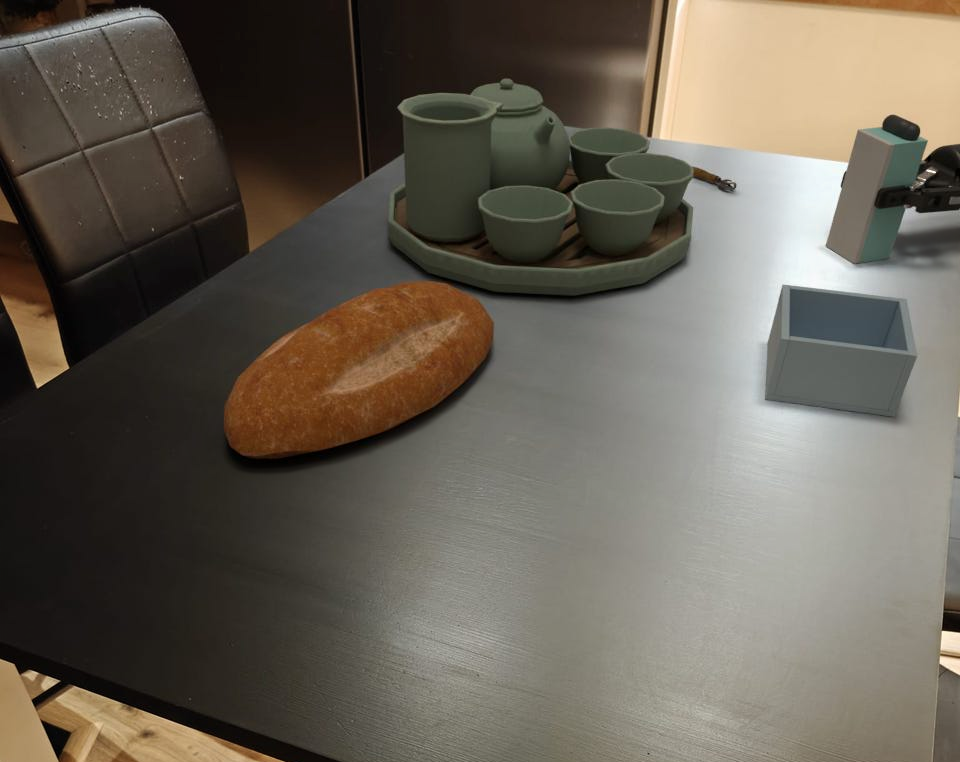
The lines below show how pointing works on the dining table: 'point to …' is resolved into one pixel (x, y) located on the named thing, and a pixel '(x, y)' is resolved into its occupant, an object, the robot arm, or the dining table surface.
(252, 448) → the bread
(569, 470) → the dining table surface
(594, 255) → the tea set
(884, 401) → the basket
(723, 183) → the can opener
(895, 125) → the knobbed tall block
